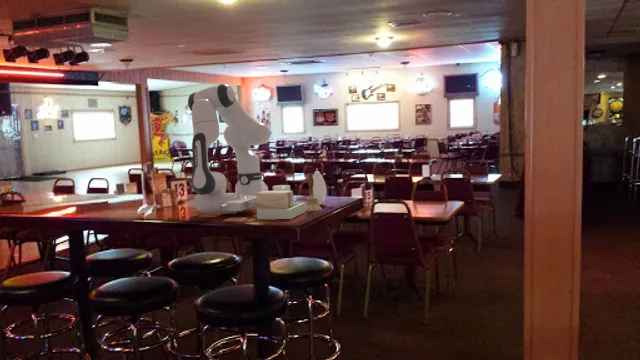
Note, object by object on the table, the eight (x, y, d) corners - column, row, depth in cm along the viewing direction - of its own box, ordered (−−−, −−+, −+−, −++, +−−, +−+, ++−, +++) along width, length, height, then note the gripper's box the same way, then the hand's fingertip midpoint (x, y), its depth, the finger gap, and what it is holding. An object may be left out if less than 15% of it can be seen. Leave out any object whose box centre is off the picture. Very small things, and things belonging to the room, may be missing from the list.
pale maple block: (265, 214, 235) (264, 190, 234) (293, 214, 231) (292, 190, 230) (257, 217, 227) (256, 193, 226) (286, 217, 223) (285, 193, 222)
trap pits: (210, 212, 244) (210, 212, 244) (260, 213, 237) (260, 212, 237) (186, 220, 226) (186, 219, 226) (240, 221, 218) (240, 220, 218)
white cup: (274, 209, 246) (273, 187, 245) (272, 207, 254) (271, 185, 253) (292, 208, 248) (291, 186, 247) (289, 206, 255) (288, 184, 254)
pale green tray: (274, 212, 239) (273, 202, 239) (304, 212, 235) (304, 203, 234) (257, 219, 222) (256, 209, 222) (289, 219, 218) (289, 209, 217)
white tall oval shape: (325, 205, 251) (323, 166, 250) (308, 206, 253) (306, 166, 251) (328, 203, 259) (326, 165, 257) (311, 203, 261) (310, 165, 259)
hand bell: (310, 212, 235) (308, 174, 234) (299, 210, 242) (297, 173, 240) (325, 209, 240) (324, 173, 239) (314, 207, 247) (313, 172, 245)
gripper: (218, 199, 225) (249, 199, 220) (240, 192, 244) (269, 193, 240) (219, 214, 225) (250, 215, 221) (241, 207, 245) (270, 207, 240)
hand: (260, 203), depth 231 cm, fingers closed, pressing on pale maple block
